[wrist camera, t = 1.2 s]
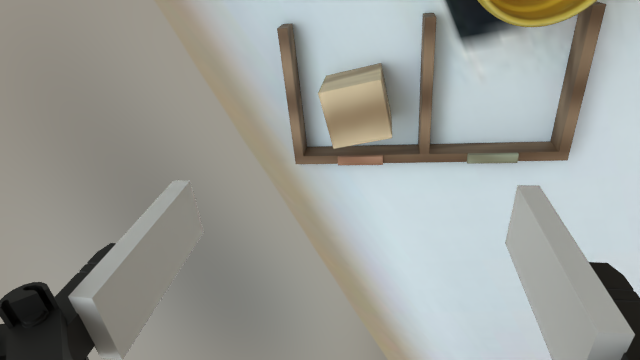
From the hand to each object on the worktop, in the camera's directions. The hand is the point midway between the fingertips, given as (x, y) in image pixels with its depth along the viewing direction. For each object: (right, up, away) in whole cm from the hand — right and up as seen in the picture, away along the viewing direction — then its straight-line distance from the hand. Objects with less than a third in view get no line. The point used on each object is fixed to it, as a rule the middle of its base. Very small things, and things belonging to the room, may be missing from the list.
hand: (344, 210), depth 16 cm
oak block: (+3, +11, +27) cm, 29 cm away
